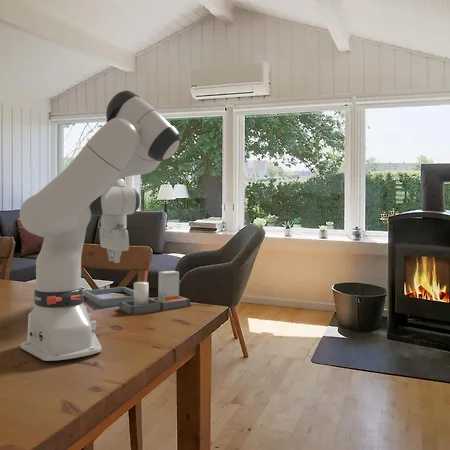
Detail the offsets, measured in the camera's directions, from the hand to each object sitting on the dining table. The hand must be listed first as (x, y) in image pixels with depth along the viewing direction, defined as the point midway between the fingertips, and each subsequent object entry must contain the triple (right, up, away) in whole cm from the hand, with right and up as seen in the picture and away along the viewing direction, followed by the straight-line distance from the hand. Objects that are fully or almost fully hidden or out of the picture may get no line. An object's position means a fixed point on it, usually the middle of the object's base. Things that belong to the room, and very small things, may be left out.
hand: (114, 261), depth 165 cm
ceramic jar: (+12, -15, -14) cm, 24 cm away
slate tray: (0, -14, 0) cm, 14 cm away
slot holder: (+17, -15, -11) cm, 25 cm away
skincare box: (+21, -15, -8) cm, 27 cm away
